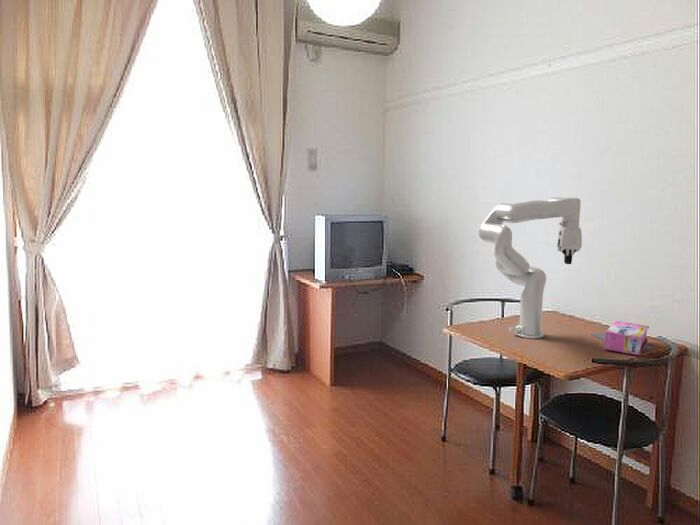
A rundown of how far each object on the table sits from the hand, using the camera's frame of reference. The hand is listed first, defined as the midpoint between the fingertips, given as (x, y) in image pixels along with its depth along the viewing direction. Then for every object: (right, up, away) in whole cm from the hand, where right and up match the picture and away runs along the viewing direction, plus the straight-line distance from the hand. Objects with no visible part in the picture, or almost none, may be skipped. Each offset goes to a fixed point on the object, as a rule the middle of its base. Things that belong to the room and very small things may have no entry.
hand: (567, 263), depth 256 cm
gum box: (+11, -31, -18) cm, 37 cm away
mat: (+19, -35, -13) cm, 41 cm away
